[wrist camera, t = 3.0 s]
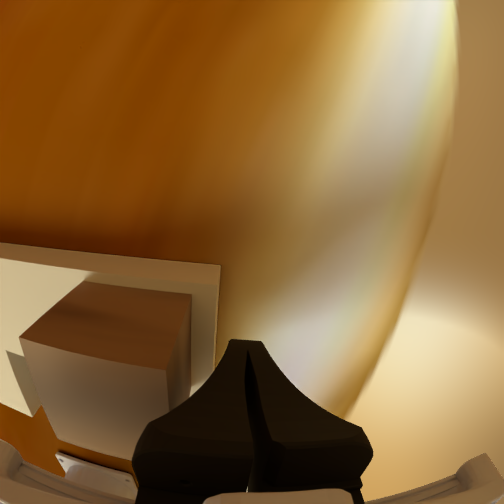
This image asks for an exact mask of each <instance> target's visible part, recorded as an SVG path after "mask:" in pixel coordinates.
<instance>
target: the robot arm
mask: <svg viewBox="0 0 504 504" xmlns="http://www.w3.org/2000/svg"><path fill="white" fill-rule="evenodd" d="M56 457H57V459H58V460H59V462H60V464H61V465H62V467H63V469H64V470H65V472H66V475H65V477H64V478H62V477H60V476H57V475H55V474H52V473H50V472H48V471H45V470H43V469H41V468H39V467H37V466H34V465H32V464H30V463H28V462H26V461H24V460H23V459H22V457H21V455H20V454H19V452H18V451H17V450H16V449H15V448H14V447H13V446H12V445H10V444H9V443H7V442H5V441H3V440H1V439H0V504H496V503H497V502H498V501H499V500H500V499H501V498H502V497H503V496H504V479H503V477H502V476H501V474H500V473H499V471H498V470H497V468H496V467H495V465H494V464H493V462H492V461H491V460H490V458H489V457H488V455H487V454H486V453H483V454H481V455H479V456H477V457H475V458H473V459H470V460H468V461H467V462H465V463H464V464H463V465H462V466H461V467H460V468H459V469H458V471H457V472H456V474H454V475H452V476H449V477H446V478H444V479H441V480H439V481H436V482H433V483H430V484H428V485H424V486H422V487H419V488H415V489H412V490H409V491H406V492H402V493H399V494H395V495H392V496H388V497H384V498H380V499H376V500H371V501H367V502H364V500H363V497H362V494H361V491H360V489H361V488H362V486H363V484H362V481H361V478H360V476H361V475H362V474H363V472H364V471H365V469H366V467H367V466H368V465H369V463H370V462H371V459H372V457H373V449H372V447H371V444H370V442H369V440H368V438H367V436H366V434H365V433H364V431H363V429H362V427H359V426H357V425H354V424H352V423H350V422H348V421H345V420H343V419H341V418H339V417H337V416H335V415H333V414H331V413H330V412H328V411H326V410H325V409H323V408H321V407H320V406H318V405H317V404H316V403H314V402H313V401H311V400H310V399H309V398H308V397H306V396H305V395H304V394H303V393H302V392H300V391H299V390H298V389H297V388H296V387H295V386H294V385H293V384H292V383H291V382H290V381H289V379H288V378H287V377H286V376H285V375H284V374H283V372H282V371H281V370H280V369H279V367H278V366H277V365H276V363H275V362H274V360H273V359H272V357H271V356H270V354H269V353H268V351H267V349H266V348H265V346H264V344H263V343H262V342H261V341H251V340H237V339H231V340H230V341H229V343H228V347H227V349H226V351H225V354H224V356H223V357H222V359H221V361H220V362H219V364H218V366H217V367H216V368H215V370H214V371H213V373H212V374H211V375H210V377H209V378H208V379H207V380H206V381H205V383H204V384H203V385H202V386H201V387H200V388H199V389H198V390H197V391H196V392H195V393H194V394H193V395H191V396H190V397H189V398H188V399H187V400H186V401H184V402H183V403H181V404H180V405H179V406H177V407H176V408H174V409H173V410H171V411H170V412H168V413H166V414H165V415H163V416H161V417H159V418H157V419H155V420H153V421H150V422H149V423H148V424H147V426H146V427H145V429H144V430H143V432H142V434H141V436H140V438H139V440H138V442H137V444H136V447H135V450H134V453H133V457H132V467H133V470H134V472H135V475H136V478H137V481H138V483H139V488H138V489H137V487H136V484H135V482H134V479H133V477H132V475H130V474H128V473H125V472H121V471H117V470H113V469H109V468H106V467H102V466H99V465H95V464H92V463H89V462H86V461H83V460H80V459H77V458H74V457H71V456H68V455H65V454H63V453H60V452H57V453H56ZM247 486H248V492H246V491H247Z"/></svg>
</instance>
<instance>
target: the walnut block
mask: <svg viewBox="0 0 504 504" xmlns="http://www.w3.org/2000/svg"><path fill="white" fill-rule="evenodd" d="M191 310H192V294H186V293H176V292H167V291H158V290H149V289H141V288H132V287H124V286H116V285H109V284H101V283H94V282H87V281H82V282H81V283H80V284H79V285H77V286H76V287H75V288H74V289H72V290H71V291H70V292H69V293H68V294H67V295H65V296H64V297H63V298H62V299H61V300H59V301H58V302H57V303H56V304H55V305H54V306H52V307H51V308H50V309H49V310H48V311H47V312H46V313H44V314H43V315H42V316H41V317H40V318H39V319H38V320H37V321H36V322H34V323H33V324H32V325H31V326H30V327H29V328H28V329H27V330H26V331H25V332H23V333H22V334H21V335H20V336H19V341H20V344H21V347H22V351H23V354H24V357H25V360H26V363H27V366H28V369H29V372H30V375H31V378H32V380H33V383H34V386H35V388H36V391H37V394H38V396H39V399H40V401H41V403H42V406H43V408H44V410H45V413H46V415H47V417H48V419H49V421H50V424H51V426H52V428H53V430H54V432H55V434H56V436H57V438H58V439H60V440H62V441H65V442H68V443H71V444H74V445H77V446H80V447H83V448H86V449H89V450H93V451H96V452H100V453H103V454H107V455H111V456H114V457H118V458H123V459H127V460H131V461H132V457H133V453H134V450H135V447H136V444H137V442H138V440H139V438H140V436H141V434H142V432H143V430H144V429H145V427H146V426H147V424H148V423H149V422H150V421H153V420H155V419H157V418H159V417H161V416H163V415H165V414H166V413H168V412H170V411H171V410H173V409H174V408H176V407H177V406H179V405H180V404H181V403H183V402H184V401H186V400H187V399H188V398H189V396H190V391H191Z"/></svg>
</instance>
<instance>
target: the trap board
mask: <svg viewBox="0 0 504 504" xmlns="http://www.w3.org/2000/svg"><path fill="white" fill-rule="evenodd" d="M220 271H221V265H214V264H202V263H191V262H181V261H170V260H159V259H149V258H139V257H129V256H119V255H109V254H99V253H90V252H80V251H71V250H62V249H53V248H44V247H35V246H27V245H18V244H10V243H1V242H0V403H3V404H5V405H7V406H9V407H11V408H13V409H15V410H17V411H20V412H22V413H24V414H26V415H29V416H31V417H33V416H34V414H35V413H36V411H37V410H38V409H39V407H40V406H41V404H42V403H41V401H40V399H39V396H38V394H37V391H36V388H35V386H34V383H33V380H32V378H31V375H30V372H29V369H28V366H27V363H26V360H25V357H24V354H23V351H22V347H21V344H20V341H19V336H20V335H21V334H22V333H23V332H25V331H26V330H27V329H28V328H29V327H30V326H31V325H32V324H33V323H34V322H36V321H37V320H38V319H39V318H40V317H41V316H42V315H43V314H44V313H46V312H47V311H48V310H49V309H50V308H51V307H52V306H54V305H55V304H56V303H57V302H58V301H59V300H61V299H62V298H63V297H64V296H65V295H67V294H68V293H69V292H70V291H71V290H72V289H74V288H75V287H76V286H77V285H79V284H80V283H81V282H82V281H87V282H94V283H101V284H109V285H116V286H124V287H132V288H141V289H149V290H158V291H167V292H176V293H186V294H192V310H191V391H190V396H191V395H193V394H194V393H195V392H196V391H197V390H198V389H199V388H200V387H201V386H202V385H203V384H204V383H205V381H206V380H207V379H208V378H209V377H210V375H211V374H212V373H213V371H214V370H215V352H216V333H217V316H218V300H219V285H220ZM190 396H189V397H190Z"/></svg>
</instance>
